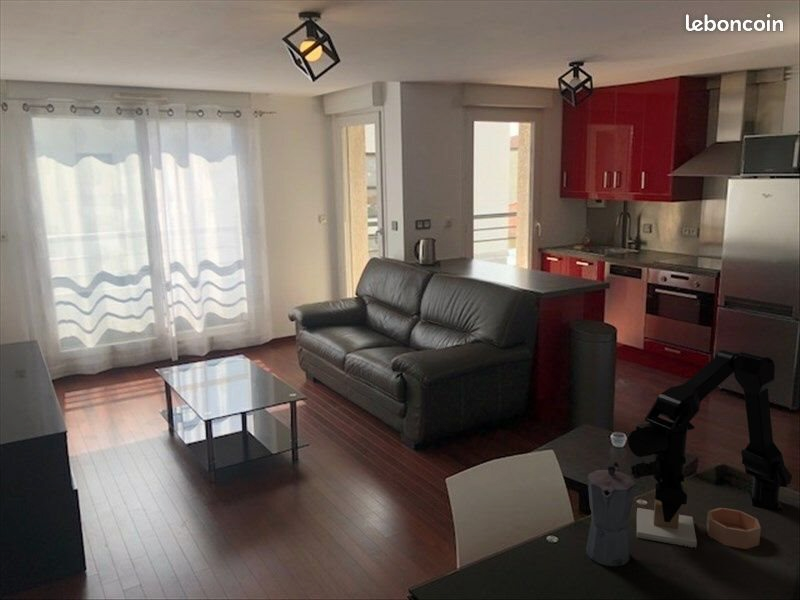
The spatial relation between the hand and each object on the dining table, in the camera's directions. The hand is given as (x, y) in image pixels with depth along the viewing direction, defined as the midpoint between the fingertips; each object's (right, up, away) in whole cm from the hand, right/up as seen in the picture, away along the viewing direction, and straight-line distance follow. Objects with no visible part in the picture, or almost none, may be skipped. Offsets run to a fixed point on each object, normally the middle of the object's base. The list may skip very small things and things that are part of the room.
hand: (666, 514), depth 142 cm
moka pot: (-17, -5, -10) cm, 20 cm away
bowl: (+14, -4, -2) cm, 15 cm away
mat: (0, -4, +1) cm, 4 cm away
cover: (0, -3, 0) cm, 3 cm away
